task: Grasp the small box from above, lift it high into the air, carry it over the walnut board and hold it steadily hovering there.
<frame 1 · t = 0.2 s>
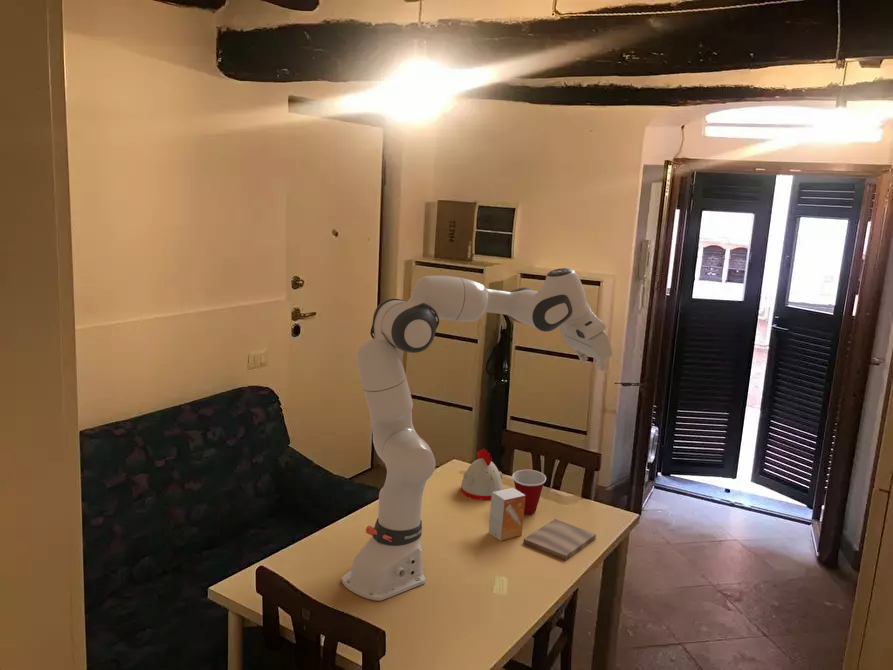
hand: (593, 364, 205), 54 cm above the table, tool tilted 30°, fingers open, 8 cm apart
plastic cup: (526, 511, 234), on the table
small box: (505, 534, 217), on the table
kitchen timer: (481, 492, 247), on the table
walnut board: (559, 541, 215), on the table
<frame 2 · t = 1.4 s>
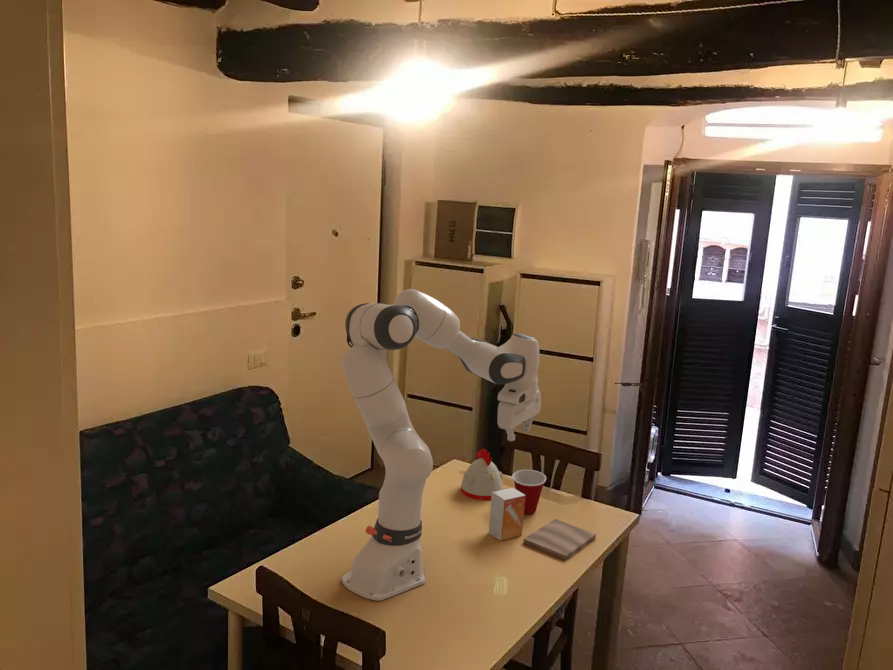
hand: (518, 435, 212), 31 cm above the table, tool pointing down, fingers open, 8 cm apart
nothing on the table moved.
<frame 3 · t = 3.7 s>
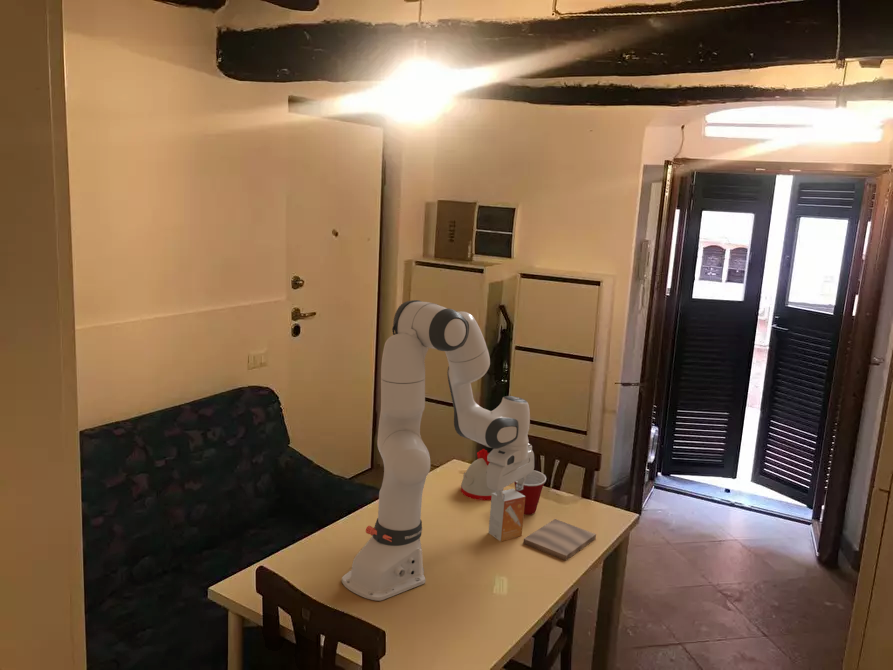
hand: (510, 495, 215), 12 cm above the table, tool pointing down, fingers open, 8 cm apart
small box: (505, 535, 217), on the table, touching gripper
everything else where it was.
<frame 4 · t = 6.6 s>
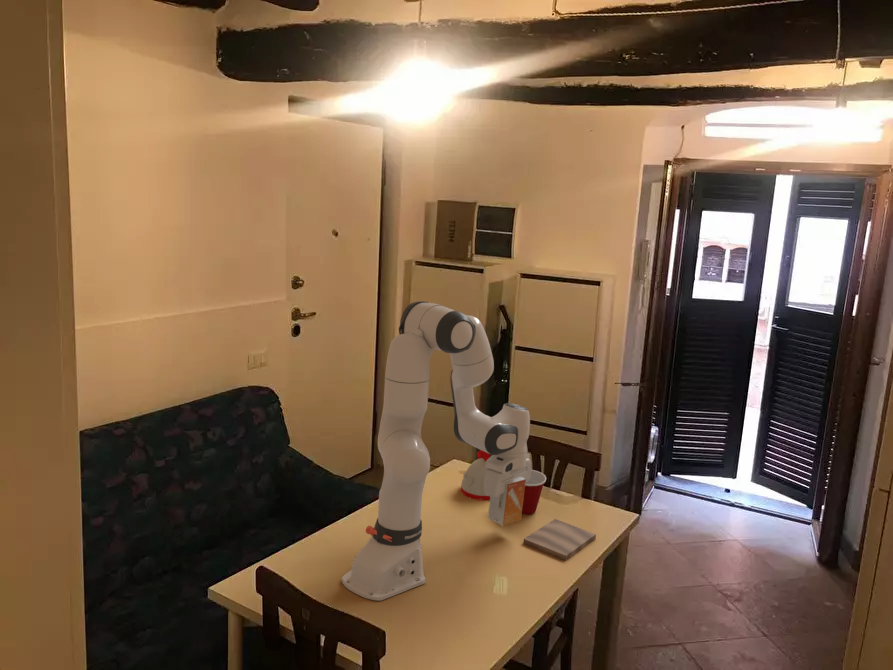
hand: (506, 502, 215), 10 cm above the table, tool pointing down, fingers closed on small box, 8 cm apart
small box: (504, 519, 216), point 5 cm above the table, touching gripper
everything else where it was.
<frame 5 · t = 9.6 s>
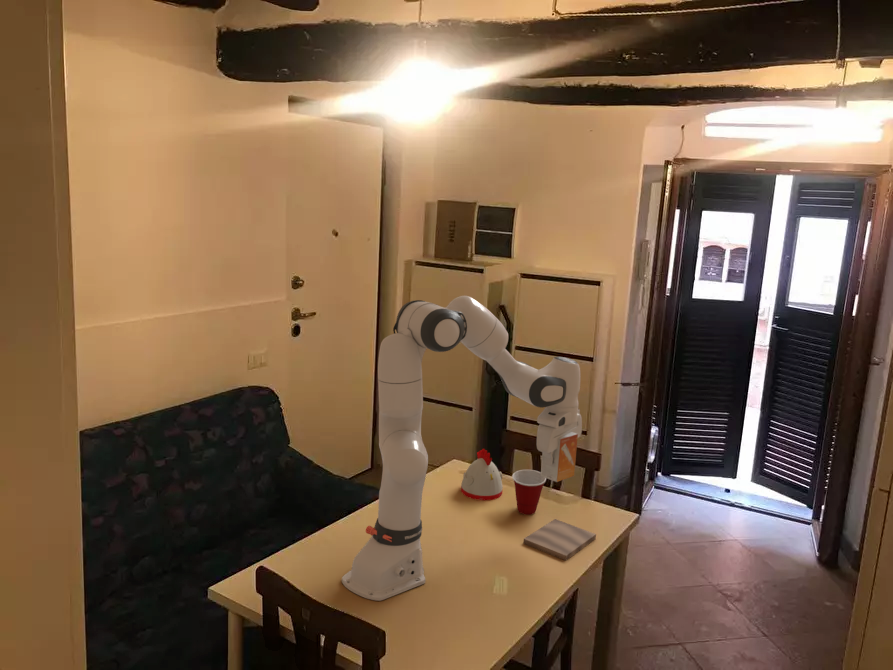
hand: (558, 459, 211), 25 cm above the table, tool pointing down, fingers closed on small box, 8 cm apart
small box: (557, 476, 212), point 20 cm above the table, touching gripper
everything else where it was.
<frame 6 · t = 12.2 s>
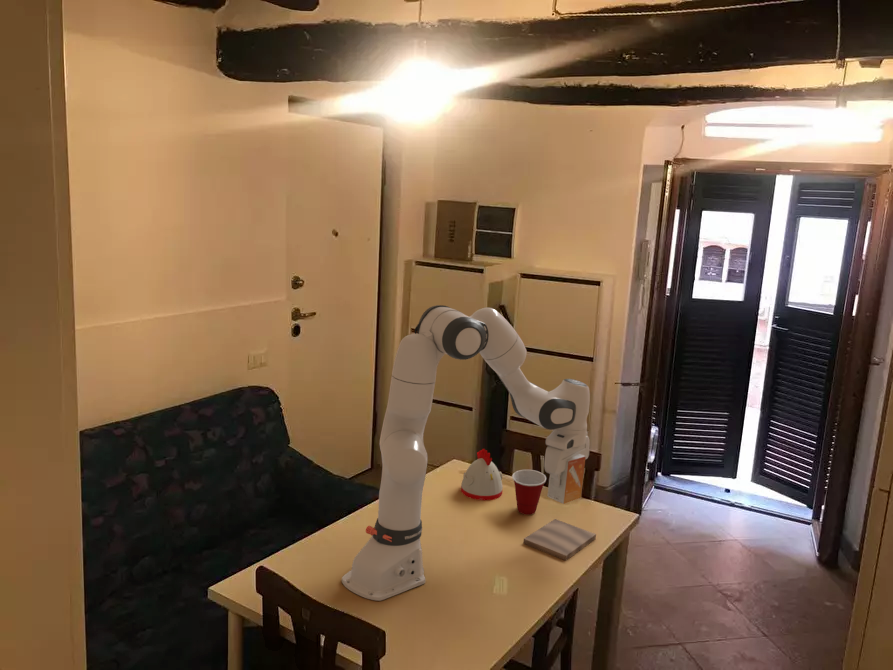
hand: (565, 480, 211), 19 cm above the table, tool pointing down, fingers closed on small box, 8 cm apart
small box: (564, 498, 212), point 14 cm above the table, touching gripper
everything else where it was.
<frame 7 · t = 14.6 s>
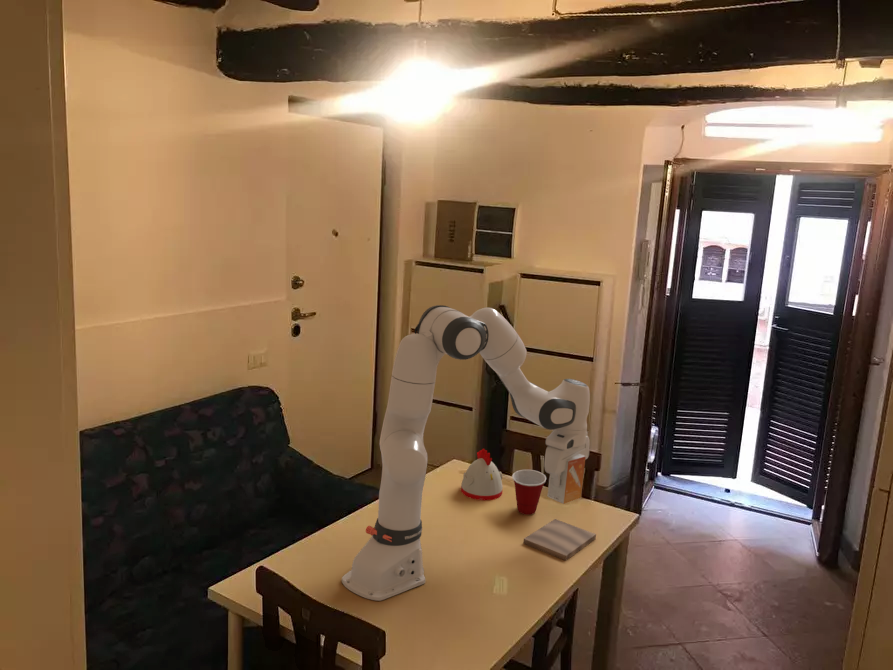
hand: (565, 480, 211), 19 cm above the table, tool pointing down, fingers closed on small box, 8 cm apart
small box: (564, 498, 212), point 14 cm above the table, touching gripper
everything else where it was.
at the end: the gripper is holding small box; small box point 13.6 cm above the table; small box 0.2 cm from the walnut board (horizontally) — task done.
